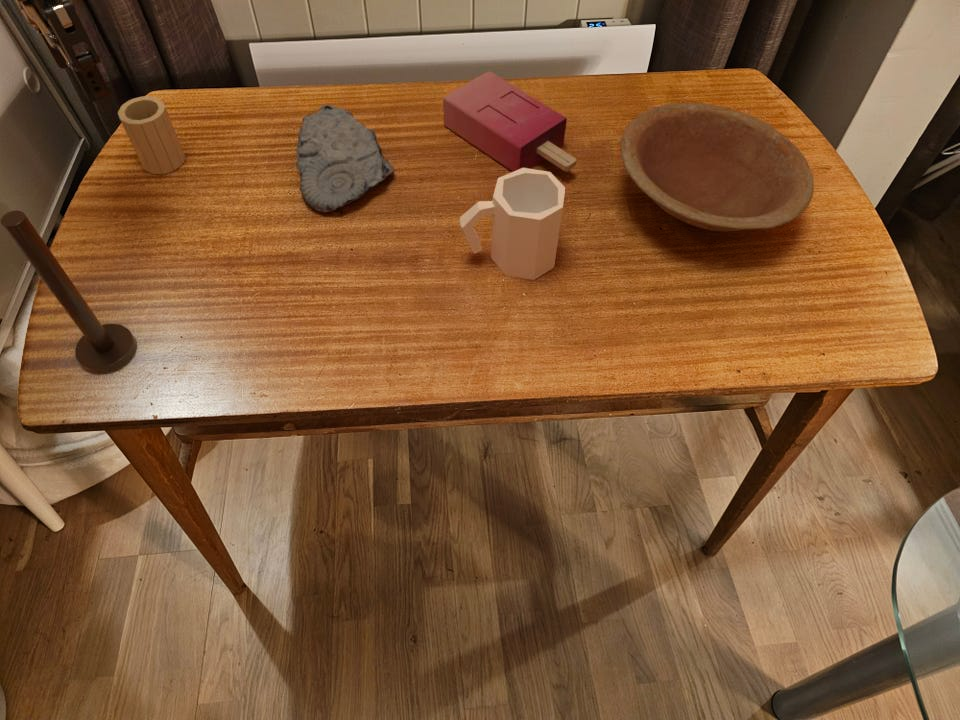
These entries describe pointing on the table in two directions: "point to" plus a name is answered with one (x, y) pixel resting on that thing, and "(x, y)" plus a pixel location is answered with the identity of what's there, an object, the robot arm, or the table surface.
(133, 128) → the faceted pencil cup
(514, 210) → the mug
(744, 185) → the bowl
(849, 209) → the table surface
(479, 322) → the table surface
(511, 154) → the popsicle
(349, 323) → the table surface
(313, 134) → the fossil
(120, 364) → the stand
